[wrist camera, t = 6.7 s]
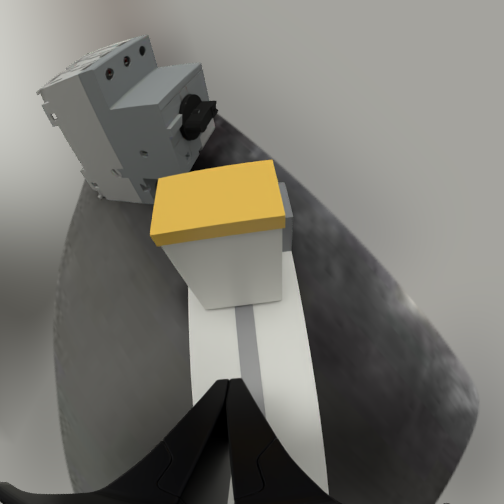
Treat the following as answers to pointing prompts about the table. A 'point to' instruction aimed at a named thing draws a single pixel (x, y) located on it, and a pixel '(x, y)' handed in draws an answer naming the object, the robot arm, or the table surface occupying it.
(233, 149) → the table surface
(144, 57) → the circuit breaker
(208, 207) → the handle
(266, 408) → the long white slab
